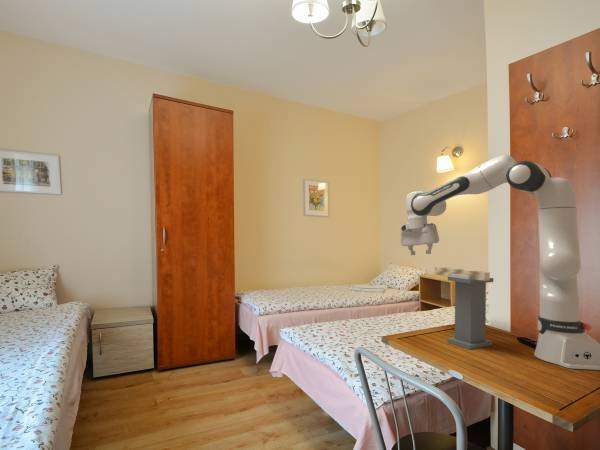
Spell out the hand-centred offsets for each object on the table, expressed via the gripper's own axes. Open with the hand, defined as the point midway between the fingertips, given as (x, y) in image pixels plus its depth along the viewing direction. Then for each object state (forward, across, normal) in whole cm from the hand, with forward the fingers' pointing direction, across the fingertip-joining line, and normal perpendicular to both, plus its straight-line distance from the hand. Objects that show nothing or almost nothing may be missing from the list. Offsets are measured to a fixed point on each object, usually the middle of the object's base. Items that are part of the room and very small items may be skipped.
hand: (420, 254), depth 164 cm
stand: (+36, -24, +4) cm, 43 cm away
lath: (+10, -24, +6) cm, 27 cm away
